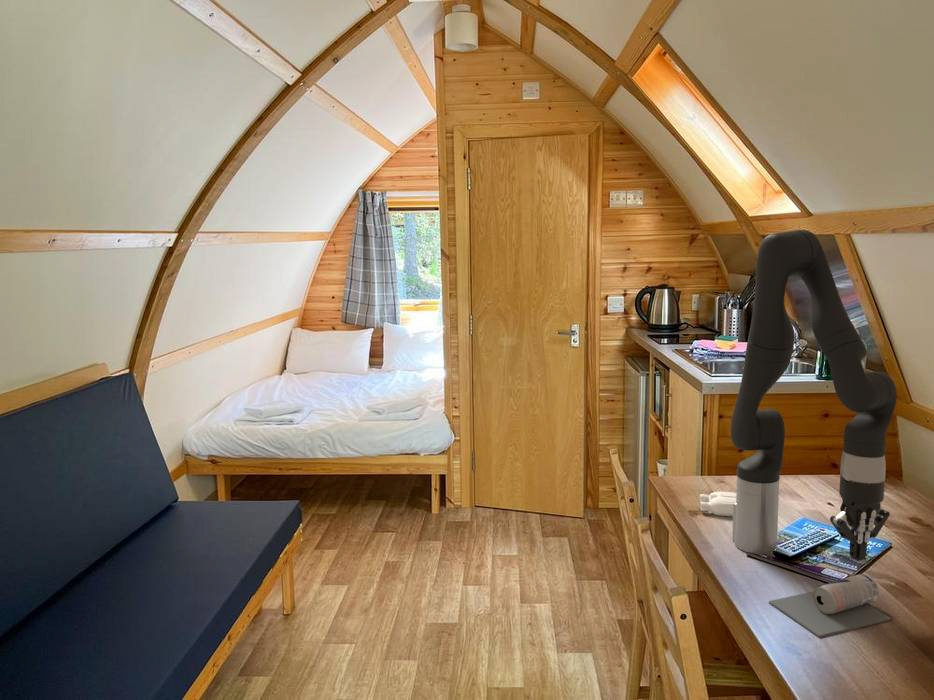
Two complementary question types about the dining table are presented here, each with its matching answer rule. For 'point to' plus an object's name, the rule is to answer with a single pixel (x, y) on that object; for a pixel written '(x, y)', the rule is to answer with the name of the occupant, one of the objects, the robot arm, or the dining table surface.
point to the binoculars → (718, 503)
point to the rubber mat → (826, 615)
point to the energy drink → (845, 594)
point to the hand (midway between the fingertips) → (857, 558)
